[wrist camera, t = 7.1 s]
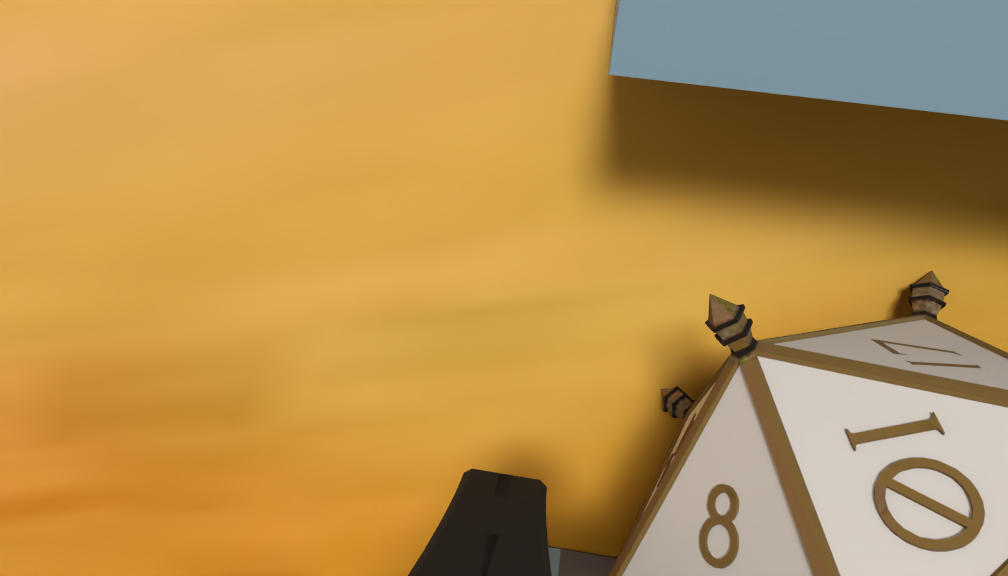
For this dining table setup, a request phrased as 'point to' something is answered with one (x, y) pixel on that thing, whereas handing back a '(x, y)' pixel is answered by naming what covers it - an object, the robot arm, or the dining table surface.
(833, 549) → the game die
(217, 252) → the dining table surface
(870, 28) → the chassis
